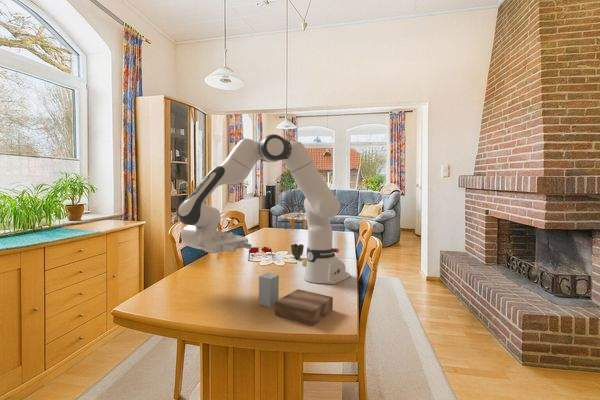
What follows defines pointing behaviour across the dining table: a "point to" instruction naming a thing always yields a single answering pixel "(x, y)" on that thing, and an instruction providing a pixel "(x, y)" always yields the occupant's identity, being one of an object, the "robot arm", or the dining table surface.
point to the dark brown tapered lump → (297, 250)
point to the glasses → (256, 249)
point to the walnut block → (304, 307)
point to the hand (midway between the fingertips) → (242, 248)
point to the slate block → (268, 289)
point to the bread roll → (304, 262)
